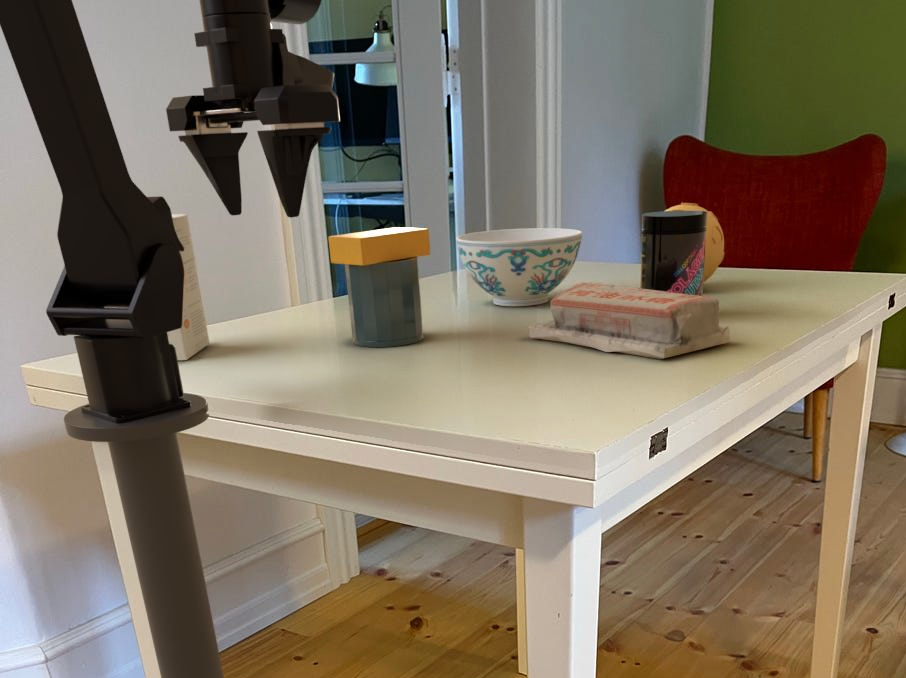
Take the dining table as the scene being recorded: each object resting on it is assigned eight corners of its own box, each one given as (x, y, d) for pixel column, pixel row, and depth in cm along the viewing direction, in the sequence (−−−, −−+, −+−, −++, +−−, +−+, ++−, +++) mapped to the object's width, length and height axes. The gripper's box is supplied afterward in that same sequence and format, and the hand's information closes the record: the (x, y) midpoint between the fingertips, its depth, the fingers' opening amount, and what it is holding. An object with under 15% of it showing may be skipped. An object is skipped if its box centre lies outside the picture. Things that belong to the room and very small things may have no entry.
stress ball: (640, 296, 121) (642, 207, 116) (643, 284, 129) (645, 201, 125) (723, 294, 119) (729, 204, 114) (721, 282, 128) (726, 198, 123)
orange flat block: (362, 265, 95) (360, 238, 94) (330, 263, 98) (327, 236, 97) (430, 254, 101) (428, 228, 100) (398, 252, 104) (396, 227, 103)
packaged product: (737, 290, 91) (666, 306, 85) (733, 344, 93) (664, 362, 88) (595, 276, 103) (525, 289, 98) (595, 324, 106) (526, 339, 100)
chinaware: (447, 298, 126) (443, 234, 123) (558, 289, 129) (557, 225, 126) (477, 316, 113) (474, 244, 110) (600, 305, 116) (600, 234, 113)
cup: (384, 350, 99) (377, 265, 95) (339, 342, 103) (330, 261, 100) (437, 337, 103) (432, 256, 100) (391, 331, 108) (385, 253, 104)
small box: (153, 347, 106) (127, 215, 100) (211, 345, 106) (189, 212, 100) (125, 363, 99) (96, 223, 93) (187, 360, 99) (162, 219, 93)
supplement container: (651, 324, 104) (655, 217, 99) (630, 314, 110) (632, 213, 105) (712, 319, 105) (718, 213, 100) (687, 310, 111) (692, 209, 106)
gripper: (379, 8, 83) (395, 209, 90) (253, 30, 95) (276, 207, 102) (269, 3, 76) (296, 221, 83) (148, 27, 88) (181, 217, 95)
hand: (263, 216), depth 91 cm, fingers open, 9 cm apart
